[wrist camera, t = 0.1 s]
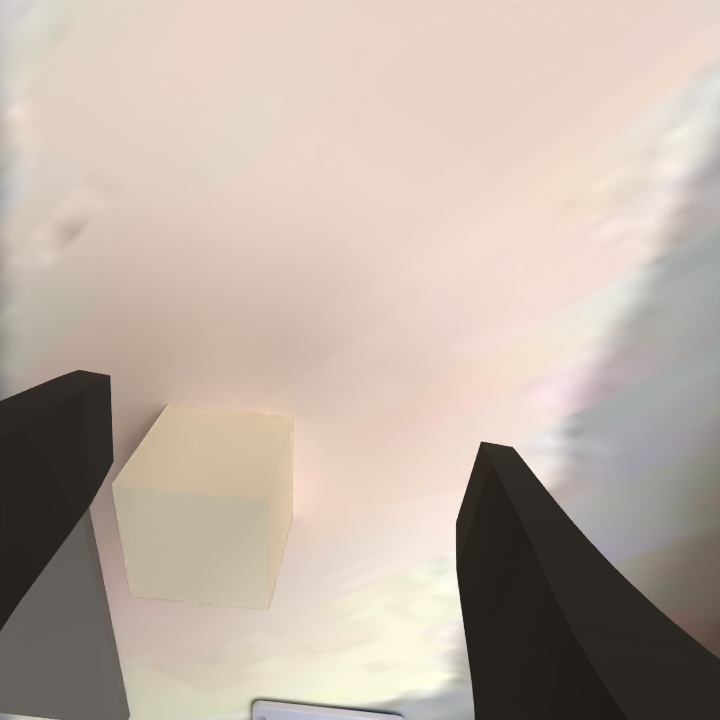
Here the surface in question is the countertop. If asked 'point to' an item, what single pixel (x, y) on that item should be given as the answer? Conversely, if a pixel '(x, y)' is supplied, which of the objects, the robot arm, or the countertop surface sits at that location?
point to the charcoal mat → (63, 641)
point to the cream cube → (207, 506)
